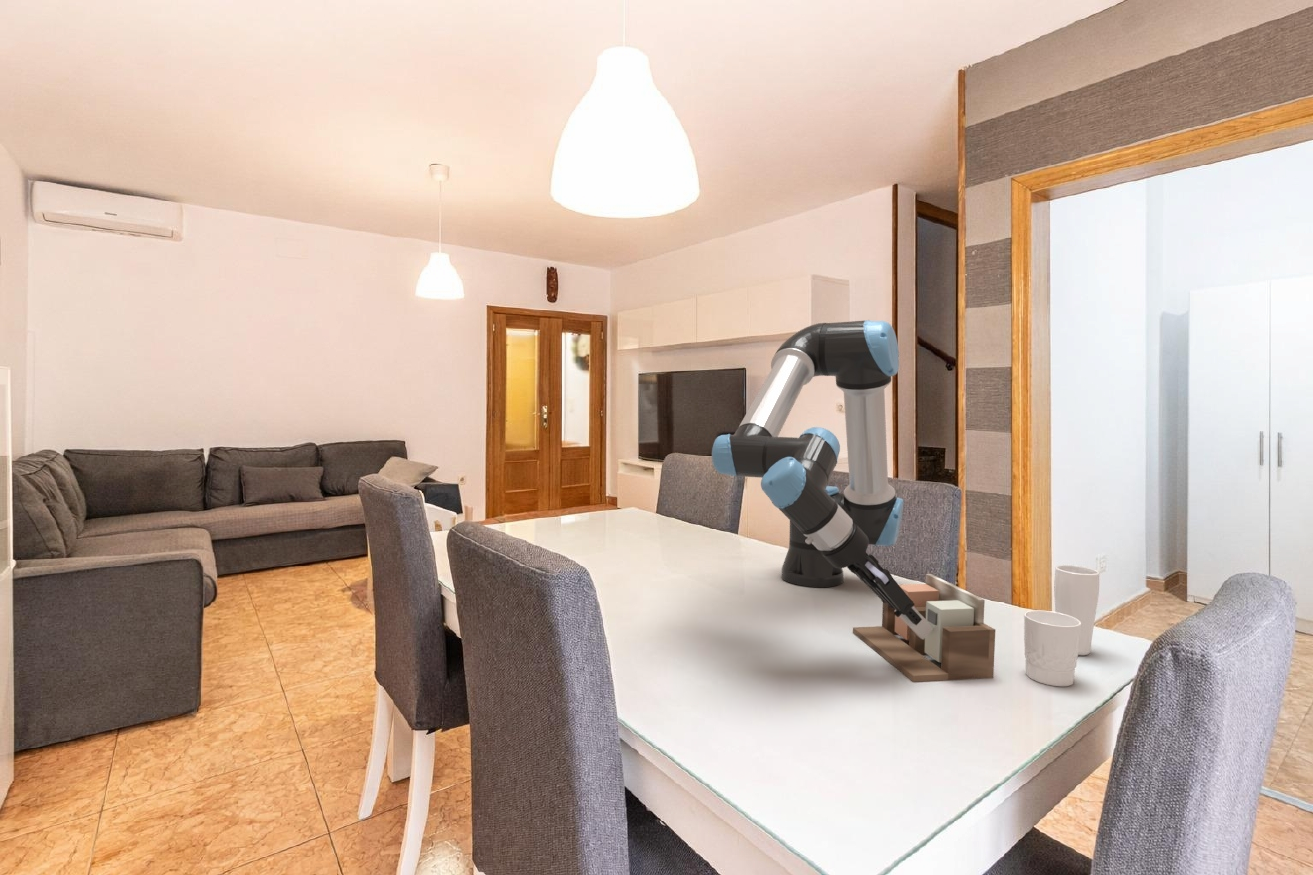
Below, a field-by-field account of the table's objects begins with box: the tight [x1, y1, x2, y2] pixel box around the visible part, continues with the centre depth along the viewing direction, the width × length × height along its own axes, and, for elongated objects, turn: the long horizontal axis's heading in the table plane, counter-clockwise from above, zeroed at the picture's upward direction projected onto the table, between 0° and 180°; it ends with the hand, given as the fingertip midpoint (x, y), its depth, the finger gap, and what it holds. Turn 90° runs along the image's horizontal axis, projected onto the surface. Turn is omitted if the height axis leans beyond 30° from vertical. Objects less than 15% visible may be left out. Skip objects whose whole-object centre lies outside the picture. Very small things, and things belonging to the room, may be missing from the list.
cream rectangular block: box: [925, 600, 974, 663], centre depth 110 cm, size 4×6×9 cm
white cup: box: [1023, 609, 1081, 687], centre depth 105 cm, size 8×8×10 cm
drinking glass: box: [1053, 564, 1100, 656], centre depth 117 cm, size 7×7×15 cm
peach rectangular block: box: [895, 583, 939, 641], centre depth 120 cm, size 4×6×9 cm
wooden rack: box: [852, 573, 996, 683], centre depth 115 cm, size 22×14×12 cm, turn 8°
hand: (926, 632), depth 110 cm, fingers closed
